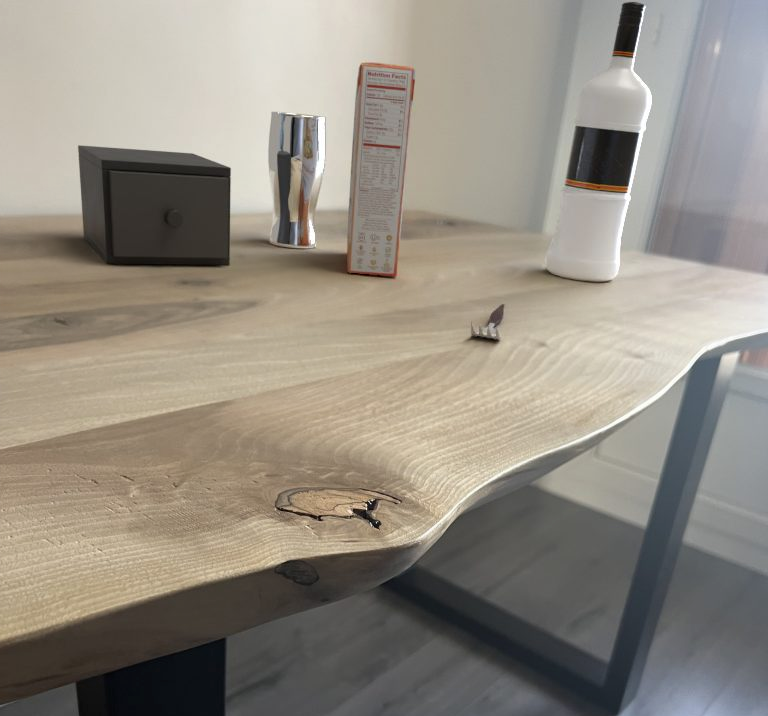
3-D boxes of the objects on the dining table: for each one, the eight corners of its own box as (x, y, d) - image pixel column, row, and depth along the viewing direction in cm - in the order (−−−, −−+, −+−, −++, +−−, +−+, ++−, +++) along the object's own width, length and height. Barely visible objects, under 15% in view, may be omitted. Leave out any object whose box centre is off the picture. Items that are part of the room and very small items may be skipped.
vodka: (534, 273, 103) (583, -7, 89) (554, 264, 110) (603, 6, 97) (606, 286, 99) (669, -2, 86) (622, 276, 107) (682, 10, 93)
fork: (515, 311, 81) (519, 291, 81) (496, 350, 67) (500, 326, 67) (490, 307, 82) (493, 287, 81) (465, 345, 68) (468, 321, 67)
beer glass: (315, 241, 108) (323, 116, 101) (323, 250, 102) (332, 118, 95) (263, 237, 106) (266, 110, 100) (267, 247, 100) (272, 112, 94)
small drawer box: (229, 265, 88) (230, 167, 84) (106, 263, 83) (101, 159, 78) (193, 240, 100) (193, 153, 95) (83, 237, 94) (77, 145, 90)
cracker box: (343, 252, 103) (357, 63, 93) (391, 256, 103) (409, 69, 94) (343, 274, 90) (358, 58, 81) (397, 278, 91) (419, 65, 81)
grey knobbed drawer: (231, 260, 86) (232, 180, 82) (117, 259, 81) (113, 173, 77) (194, 235, 97) (193, 164, 94) (92, 232, 92) (87, 157, 89)
